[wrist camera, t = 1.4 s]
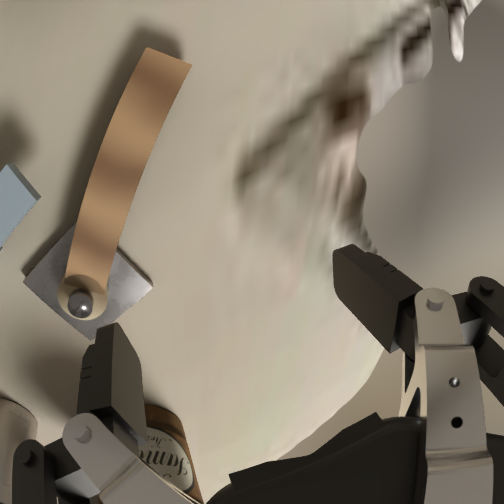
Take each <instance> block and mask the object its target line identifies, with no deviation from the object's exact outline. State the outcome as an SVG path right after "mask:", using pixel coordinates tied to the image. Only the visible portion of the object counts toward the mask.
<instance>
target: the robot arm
mask: <svg viewBox="0 0 504 504" xmlns="http://www.w3.org/2000/svg"><path fill="white" fill-rule="evenodd" d="M333 278H334V288H335V292H336V294H337V296H338V298H339V299H340V300H341V301H342V302H343V304H344V305H345V306H346V307H347V308H348V309H349V310H350V311H351V312H352V313H353V314H354V315H355V316H356V317H357V319H358V320H359V321H360V322H361V323H362V324H363V325H364V326H365V327H366V328H367V329H368V330H369V331H370V333H371V334H372V335H373V336H374V337H375V338H376V339H377V340H378V341H379V342H380V343H381V345H382V346H383V347H384V348H385V349H386V350H387V351H388V352H389V353H392V352H393V351H395V350H397V349H399V348H401V349H402V350H403V351H404V353H403V361H402V366H403V367H402V400H401V406H400V411H399V416H398V417H391V418H386V419H382V420H381V418H380V417H379V416H378V414H377V413H376V412H375V413H373V414H372V415H370V416H368V417H366V418H364V419H362V420H360V421H359V422H357V423H355V424H353V425H351V426H349V427H347V428H345V429H343V430H342V431H341V432H339V433H338V434H337V435H336V436H334V437H333V438H332V439H331V440H329V441H328V442H327V443H326V444H324V445H323V446H322V447H321V448H319V449H318V450H316V451H315V452H314V453H312V454H310V455H307V456H302V457H296V458H290V459H284V460H277V461H269V462H265V463H262V464H259V465H256V466H253V467H250V468H247V469H244V470H241V471H237V472H234V473H231V474H229V477H230V480H231V483H230V484H228V485H227V486H225V487H224V488H222V489H221V490H219V491H218V492H217V493H216V494H215V495H214V496H213V497H211V499H210V500H209V501H208V502H207V503H206V504H504V436H502V435H496V434H490V433H486V427H485V416H484V406H483V398H482V390H481V383H480V380H481V381H482V382H483V383H484V384H485V385H486V386H487V388H488V389H489V390H490V391H491V392H492V393H493V395H494V396H495V397H496V398H497V399H498V400H499V402H500V403H501V404H502V405H503V406H504V350H503V349H502V348H501V347H500V346H499V345H498V344H497V343H496V342H495V341H494V340H493V339H492V338H491V337H490V336H489V335H488V333H489V331H490V329H491V326H492V327H493V328H494V329H495V330H496V331H497V332H498V333H499V334H501V335H502V336H503V337H504V287H503V286H502V285H501V284H499V283H498V282H497V281H495V280H493V279H492V278H488V277H484V276H480V277H476V278H473V279H472V280H471V281H470V284H469V287H468V291H467V292H464V293H460V294H456V295H450V294H449V293H448V292H446V291H444V290H442V289H439V288H426V289H423V288H422V287H420V286H419V285H418V284H416V283H415V282H414V281H412V280H411V279H410V278H409V277H407V276H406V275H405V274H403V273H402V272H401V271H399V270H397V268H396V267H394V266H393V265H390V263H389V262H387V261H386V260H385V259H383V258H382V257H381V256H378V255H375V254H372V253H370V252H366V253H365V252H364V251H362V250H361V249H360V248H358V247H357V246H355V245H354V244H350V245H347V246H345V247H342V248H339V249H336V250H334V251H333ZM81 369H82V371H81V376H80V379H81V380H80V385H79V395H78V406H77V415H76V416H74V417H73V418H71V419H70V420H69V421H68V423H67V424H66V426H65V427H64V430H63V436H62V438H60V439H58V440H56V441H54V442H52V443H50V444H48V445H46V446H43V445H41V444H40V443H39V442H38V441H36V436H37V426H38V424H37V421H36V419H35V418H34V417H33V415H32V414H31V413H30V412H28V411H27V410H26V409H24V408H23V407H21V406H20V405H18V404H16V403H14V402H12V401H9V400H5V399H0V504H57V498H56V497H58V502H59V504H98V497H97V494H98V496H99V498H100V499H101V501H102V502H103V503H104V504H200V503H198V502H197V501H195V500H194V499H192V498H191V497H190V496H188V495H187V494H185V493H184V492H182V491H181V490H180V489H178V488H177V487H176V486H174V485H173V484H172V483H171V482H169V481H168V480H167V479H166V478H164V477H163V476H162V475H161V474H159V473H158V472H157V471H156V470H155V469H153V468H152V467H151V466H150V465H149V464H148V463H147V462H145V461H144V460H143V459H142V458H141V457H140V456H139V450H138V446H143V445H148V444H149V442H148V434H147V426H146V417H145V408H144V397H143V386H142V372H141V364H140V361H139V358H138V355H137V353H136V351H135V350H134V348H133V346H132V345H131V343H130V341H129V340H128V338H127V336H126V335H125V333H124V331H123V330H122V328H121V326H120V325H119V324H118V323H117V322H116V323H112V324H109V325H106V326H103V327H99V328H97V331H96V339H95V344H93V345H89V347H88V349H87V351H86V352H85V354H84V356H83V361H82V368H81Z"/></svg>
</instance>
